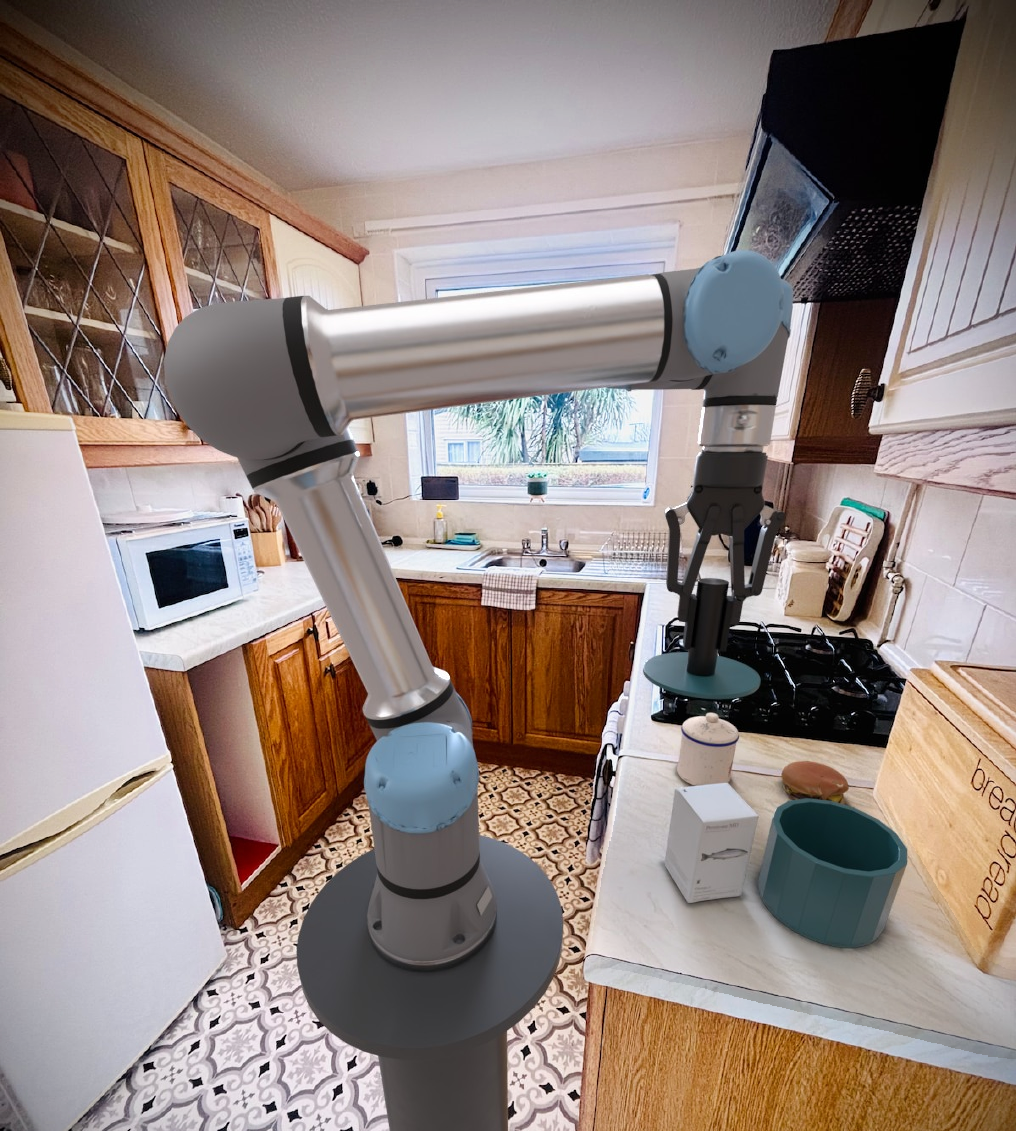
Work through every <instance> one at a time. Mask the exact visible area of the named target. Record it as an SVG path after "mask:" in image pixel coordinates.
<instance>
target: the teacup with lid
mask: <svg viewBox="0 0 1016 1131" xmlns="http://www.w3.org/2000/svg"><path fill="white" fill-rule="evenodd" d="M680 731H681V738H680V746H679V753H678V761H677V768H676V769H677V770H676V772H677V774H678V776H679V777H680V778H681V780H683V781H684V782H686V783H688V784H689V785H691V786H698V785H709V784H718V783H728V784H729V783H730V780H731V775H732V770H733V764H734V760H735V759H734V758H735V755H736V754H735V753H736V749H737V748H736V747H737V743H738V741H739V739H740V734H739V730H738V729H737V727H736V726H734V724H732V723H730V722H729V721H727V720H725V719H721V718H720V717H719V715H718V714H717V713H715V712H707V713H706V714H705V715H699V716H693V717H689V718H687V719H686V720H685V721H683V723H682V725H681V727H680Z"/></svg>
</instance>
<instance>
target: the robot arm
mask: <svg viewBox="0 0 1016 1131" xmlns="http://www.w3.org/2000/svg"><path fill="white" fill-rule="evenodd" d="M793 302H794V288H793V286H792V284H790V283H789V281H787V280H785V279H783V278H782V277H781V274H780V273H779V271H778V269H777V267H776V266H775V265H774V264H773V262H772V261H770V259H769V258H767V257H766V256H765V255H763V254H761V253H759V252H757V251H754V250H751V249H750V250H748V249H740V250H738V249H737V250H734V251H731V252H728V253H726V254H723V255H717V256H714V258H712V259H711V260H708V261H706V262H705V263H704V264H703V265H702V266H701V267H697V268H691V269H689V268H688V269H680V270H673V271H666V272H665V271H663V272H659V273H653V274H652V273H651V274H648V273H647V274H637V275H630V276H629V275H628V276H620V277H611V278H602V279H594V280H585V281H584V280H583V281H575V282H566V283H557V284H548V285H540V286H529V287H521V288H513V289H503V290H496V291H494V290H493V291H485V292H477V293H476V292H475V293H468V294H459V295H452V296H451V295H449V296H442V297H433V298H424V299H423V298H422V299H413V300H406V301H404V300H403V301H396V302H388V303H379V304H378V303H377V304H369V305H362V306H361V305H360V306H352V307H343V308H333V309H328V308H325V307H324V306H323V305H322V304H320V303H319V302H318V301H317V300H315V299H314V298H313V297H312V296H311V295H297V296H287V297H279V298H267V299H265V298H263V299H252V300H251V299H250V300H237V301H227V302H219V303H218V302H217V303H213V304H209V305H206V306H203V307H200V308H198V309H196V310H194V311H192V312H191V313H190V314H188V315H186V316H185V317H183V319H182V320H181V321H180V322H179V323H178V324H177V325H176V327H175V328H174V330H173V332H172V333H171V336H170V337H169V339H168V341H167V345H166V348H165V354H164V358H163V368H164V381H165V385H166V389H167V392H168V395H169V398H170V400H171V402H172V404H173V406H174V409H175V410H176V412H177V414H178V415H179V417H180V418H181V420H182V421H183V423H184V424H185V425H186V426H187V427H188V428H189V429H190V430H191V431H192V432H193V433H194V435H196V436H197V438H199V439H200V440H201V441H203V442H204V443H206V444H207V445H208V446H211V447H212V448H214V449H216V450H217V451H219V452H222V453H224V454H226V455H229V456H231V457H234V458H237V460H238V462H239V464H240V466H241V468H242V471H243V473H244V475H245V477H246V478H247V481H248V483H249V485H250V487H251V489H252V490H253V492H254V493H256V494H258V495H259V496H262V497H264V498H266V499H269V500H270V501H272V502H274V503H275V504H276V505H277V506H276V507H277V508H278V510H279V512H280V514H281V516H282V518H283V520H284V522H285V525H286V527H287V528H288V531H289V532H290V535H291V537H292V540H293V541H294V543H295V546H296V547H297V549H298V551H299V553H300V556H301V557H302V559H303V562H304V564H305V566H306V568H307V570H308V572H309V574H310V576H311V579H312V581H313V583H314V585H315V587H316V589H317V591H318V593H319V595H320V598H321V599H322V602H323V603H324V605H325V607H326V609H327V612H328V614H329V616H330V618H331V620H332V622H333V624H334V626H335V628H336V630H337V632H338V635H339V636H340V638H341V640H342V642H343V644H344V647H345V649H346V651H347V653H348V655H349V658H350V659H351V662H352V663H353V665H354V667H355V669H356V672H357V674H358V676H359V678H360V680H361V682H362V684H363V686H364V688H365V690H366V693H367V696H366V699H365V701H364V704H363V706H362V713H363V716H364V717H365V719H366V721H367V724H368V725H369V727H370V729H371V731H372V734H373V735H374V738H375V740H376V742H375V743H374V744H373V745H372V747H371V748H370V750H369V752H368V754H367V756H366V760H365V767H364V778H363V787H364V792H365V796H366V802H367V804H368V812H369V818H370V826H371V835H372V841H373V849H374V850H375V857H376V864H377V872H378V874H377V877H376V881H375V883H374V885H373V892H372V895H371V899H370V902H369V907H368V913H367V923H368V930H369V936H370V940H371V943H372V945H373V947H374V949H375V950H376V951H377V953H378V954H379V955H380V956H381V957H382V958H383V959H384V960H386V961H387V962H389V963H390V964H392V965H394V966H396V967H398V968H401V969H404V970H408V971H414V972H435V971H441V970H445V969H449V968H452V967H454V966H457V965H459V964H461V963H463V962H465V961H467V960H468V959H470V958H471V957H473V956H474V955H475V954H477V953H478V952H479V951H480V950H481V949H482V948H483V947H484V946H485V944H486V943H487V942H488V940H489V939H490V937H491V935H492V933H493V931H494V928H495V925H496V920H497V901H496V895H495V892H494V889H493V886H492V884H491V882H490V880H489V878H488V875H487V873H486V871H485V869H484V867H483V865H482V863H481V860H480V845H479V835H480V821H479V818H480V817H479V790H478V789H479V788H478V786H479V783H480V771H479V763H478V760H477V757H476V752H475V749H474V743H473V733H474V732H473V730H474V729H473V720H472V716H471V713H470V711H469V708H468V706H467V704H466V703H465V701H464V700H463V698H462V697H461V696H460V695H459V693H457V691H456V689H455V687H454V685H453V682H452V680H451V677H450V675H449V673H448V672H447V671H446V670H444V669H441V668H438V667H436V666H433V664H432V662H431V660H430V657H429V655H428V652H427V649H426V648H425V646H424V643H423V641H422V638H421V635H420V633H419V631H418V628H417V627H416V624H415V621H414V619H413V617H412V616H413V615H412V614H411V612H410V609H409V607H408V605H407V601H406V599H405V597H404V595H403V593H402V590H401V588H400V584H399V583H398V580H397V579H396V576H395V574H394V570H393V569H392V566H391V563H390V561H389V559H388V557H387V554H386V552H385V549H384V547H383V544H382V542H381V540H380V537H379V534H378V532H377V530H376V528H375V525H374V523H373V521H372V518H371V516H370V513H369V510H368V509H367V506H366V504H365V501H364V498H363V496H362V494H361V492H360V489H359V486H358V484H357V482H356V480H355V477H354V474H355V469H356V467H357V464H358V462H359V459H360V456H361V455H360V451H359V450H358V447H357V445H356V442H355V440H354V437H353V434H352V432H351V430H350V427H349V426H350V424H351V423H352V422H353V421H356V420H363V419H371V418H380V417H386V416H394V415H403V414H409V413H418V412H419V413H420V412H425V411H433V410H441V409H450V408H456V407H457V408H458V407H464V406H470V405H471V406H472V405H481V404H488V403H496V402H502V401H511V400H520V399H527V398H534V397H544V396H550V395H558V394H565V393H573V392H581V391H589V390H597V389H604V388H606V389H611V390H626V391H627V392H628V393H629V392H632V391H638V390H640V391H641V390H642V391H643V390H645V391H647V390H649V391H650V390H651V391H652V390H654V391H655V390H656V391H662V390H663V391H664V390H665V391H666V390H668V391H669V390H691V391H700V390H703V401H702V410H701V418H700V425H699V432H698V441H697V445H698V446H699V447H702V450H701V451H700V452H698V455H696V458H695V459H696V460H695V464H694V465H695V467H694V472H693V473H694V474H693V481H692V482H693V483H692V489H691V492H690V493H689V496H688V497H687V499H686V502H685V503H682V504H679V505H678V506H675V507H667V508H666V509H665V510H664V517H665V520H666V524H667V526H668V537H667V538H668V541H667V557H666V558H667V560H666V577H665V580H666V581H665V585H666V589H667V590H668V592H669V593H673V594H677V595H678V596H679V598H678V606H677V619H678V622H679V623H680V622H681V623H682V622H683V623H684V628H683V637H682V645H683V649H684V650H689V649H691V641H692V634H693V627H694V619H695V612H696V605H697V598H696V593H693V591H694V589H695V586H696V583H697V579H698V577H699V573H700V570H701V567H702V564H703V560H704V558H705V555H706V552H707V549H708V547H709V544H710V542H711V539H712V536H718V535H724V536H727V537H728V542H729V564H730V565H729V567H730V591H731V595H727V599H726V605H725V611H724V618H723V624H722V630H721V637H720V643H719V650H718V652H724V653H725V652H727V648H728V642H729V637H730V636H729V635H730V630H731V626H734V625H735V626H738V625H739V623H740V622H741V617H742V613H743V612H742V610H743V606H744V605H743V604H744V602H745V601H746V599H748V598H751V597H758V596H761V594H762V592H763V589H764V584H765V580H766V576H767V572H768V568H769V566H770V562H771V556H772V552H773V548H774V544H775V540H776V536H777V532H779V530H780V528H781V526H782V525H783V524H784V522H785V520H786V518H787V515H786V513H785V512H784V511H782V510H780V509H775V508H772V507H770V506H768V505H766V501H765V498H764V494H763V488H764V482H765V477H766V469H767V465H768V460H769V459H768V458H769V455H767V452H765V451H764V447H768V446H769V445H770V444H771V441H772V440H771V439H772V434H773V429H774V428H773V427H774V422H775V414H776V408H777V403H778V402H777V401H778V398H779V392H780V386H781V380H782V375H783V370H784V365H785V358H786V353H787V348H788V343H789V342H788V341H789V338H790V337H791V330H792V329H791V328H792V327H791V325H792V317H793V308H794V305H793V304H794V303H793ZM688 513H689V514H690V516H691V518H692V519H693V520H694V522H695V524H696V526H697V528H698V529H697V532H696V536H695V540H694V544H693V547H692V550H691V553H690V556H689V560H688V562H687V566H686V569H685V571H684V575H683V578H682V582H680V581H679V564H680V549H681V548H680V546H681V526H682V525H683V524H684V523H685V521H686V515H687V514H688ZM759 515H760V520H759V523H760V526H762V527H761V529H760V531H759V536H758V538H757V539H758V540H757V544H756V548H755V553H754V557H753V561H752V566H751V570H750V574H749V577H748V582H747V584H746V582H745V580H746V578H745V574H746V573H745V529H746V528H748V526H750V524H751V523H752V522H753V521H754V520H755V519H756V518H757V517H758V516H759Z"/></svg>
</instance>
